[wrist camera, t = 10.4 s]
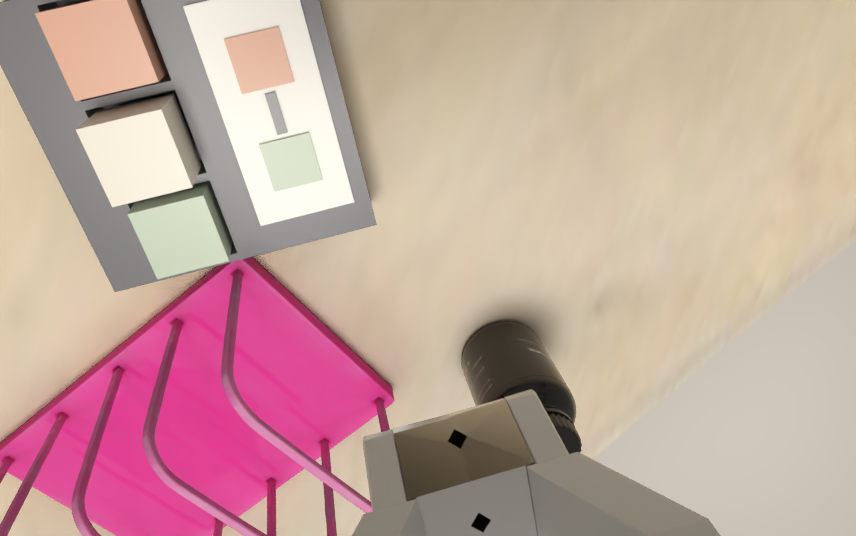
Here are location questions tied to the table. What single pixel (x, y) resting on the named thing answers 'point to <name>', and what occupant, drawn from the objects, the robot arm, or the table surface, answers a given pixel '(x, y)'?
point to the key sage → (182, 230)
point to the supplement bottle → (519, 374)
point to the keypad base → (211, 123)
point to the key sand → (140, 149)
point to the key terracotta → (103, 46)
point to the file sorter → (200, 416)
